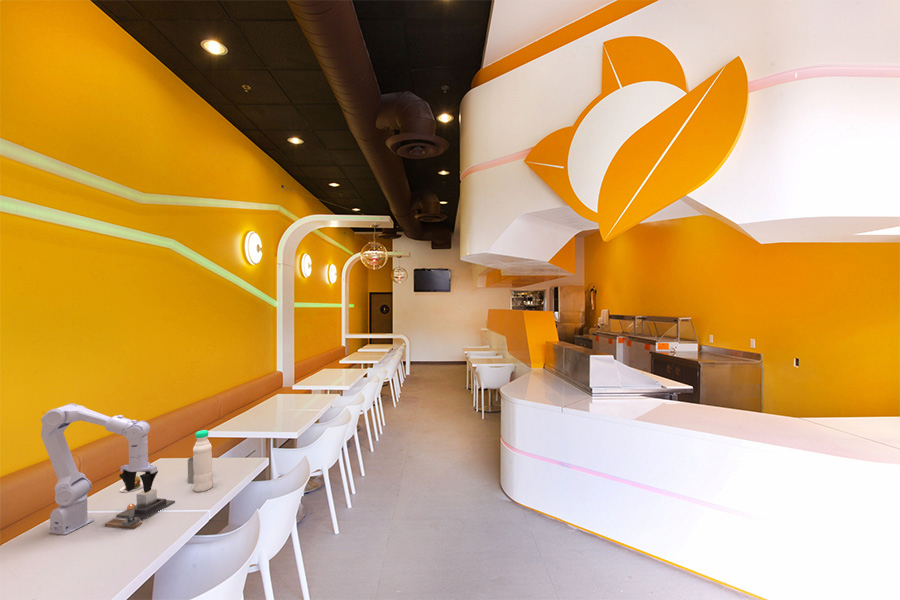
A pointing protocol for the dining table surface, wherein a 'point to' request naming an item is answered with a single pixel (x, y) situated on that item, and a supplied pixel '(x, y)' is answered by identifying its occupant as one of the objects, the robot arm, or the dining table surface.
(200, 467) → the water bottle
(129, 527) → the rail
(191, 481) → the cup
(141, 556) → the dining table surface
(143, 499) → the block
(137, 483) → the burger on plate
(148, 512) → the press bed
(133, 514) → the lever
